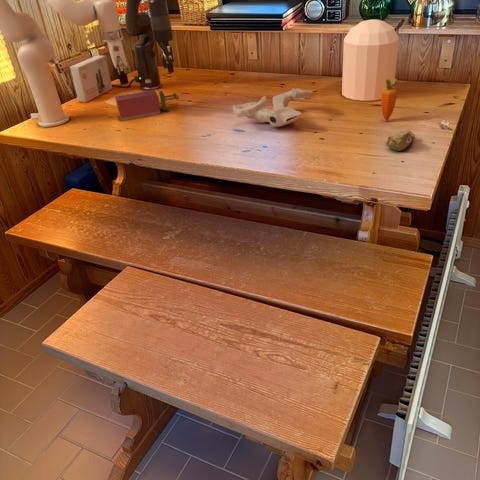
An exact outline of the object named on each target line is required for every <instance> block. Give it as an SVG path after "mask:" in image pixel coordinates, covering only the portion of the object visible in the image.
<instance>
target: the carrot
mask: <svg viewBox="0 0 480 480" xmlns="http://www.w3.org/2000/svg"><path fill="white" fill-rule="evenodd" d="M397 81H398V78H395V80H394V82H393V84H391V82H390V79H386V83H387V85H386V87H387V88H386V89H384V90H383V91H382V98H381V99H380V101H381V102H380V104H381V112H382V113H381V114H382V117H383V119H384V120H385V121H386V122H388V121H389V119H390V118H391V117H392V114H393V112H394V109H395V106H396V101H397V96H398V95H397V94H398V91H397V89H395V85H396V83H397ZM389 85H390V86H389ZM391 85H392V86H391ZM393 86H394V88H393Z"/></svg>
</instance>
